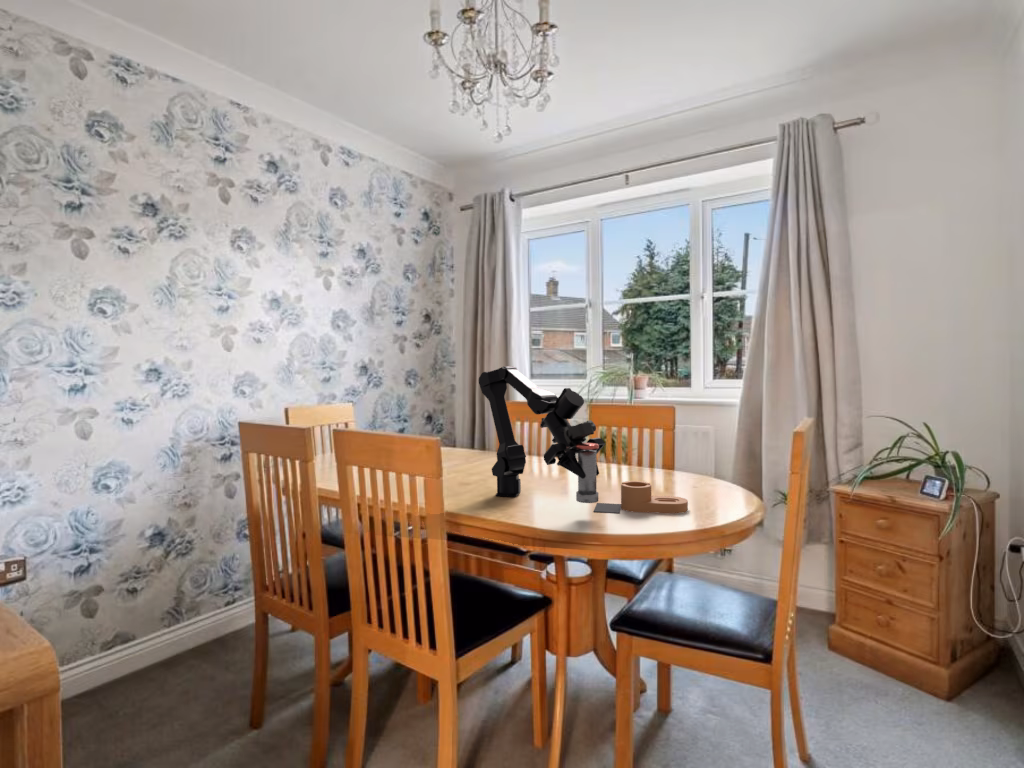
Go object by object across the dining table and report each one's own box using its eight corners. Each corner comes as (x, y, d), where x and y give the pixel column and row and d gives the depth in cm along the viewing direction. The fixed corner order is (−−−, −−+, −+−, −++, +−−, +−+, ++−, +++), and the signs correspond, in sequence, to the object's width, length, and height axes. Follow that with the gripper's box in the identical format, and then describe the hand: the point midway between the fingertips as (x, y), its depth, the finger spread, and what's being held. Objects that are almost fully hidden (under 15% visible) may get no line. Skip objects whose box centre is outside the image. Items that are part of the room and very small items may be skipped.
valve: (574, 502, 147) (574, 446, 146) (577, 496, 153) (577, 442, 152) (597, 503, 145) (597, 446, 145) (599, 497, 151) (599, 443, 150)
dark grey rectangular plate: (593, 511, 154) (593, 511, 154) (596, 503, 163) (596, 502, 163) (619, 513, 153) (619, 512, 153) (621, 504, 161) (621, 504, 161)
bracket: (621, 512, 155) (621, 487, 154) (620, 504, 163) (620, 480, 162) (689, 514, 151) (689, 489, 151) (685, 506, 159) (685, 482, 159)
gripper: (550, 413, 145) (582, 462, 137) (600, 408, 157) (631, 453, 149) (530, 440, 151) (559, 488, 144) (579, 433, 163) (608, 477, 155)
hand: (591, 476), depth 148 cm, fingers closed on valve, 5 cm apart
